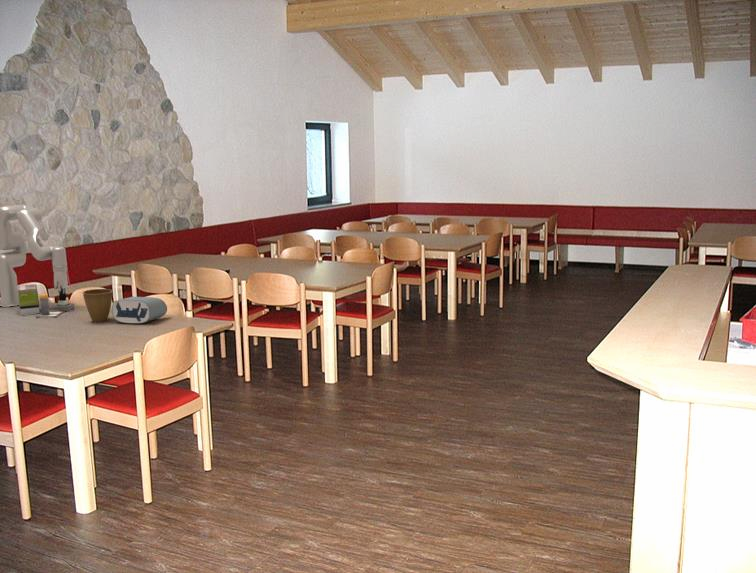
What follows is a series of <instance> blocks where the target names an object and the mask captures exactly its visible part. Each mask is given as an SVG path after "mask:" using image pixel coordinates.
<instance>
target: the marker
mask: <svg viewBox="0 0 756 573" xmlns="http://www.w3.org/2000/svg"><path fill="white" fill-rule="evenodd" d="M48 295H49V294H48V293H38V298H39V305H40V314H42V315H49V311H50V306H49V305H50V304H49V296H48Z"/></svg>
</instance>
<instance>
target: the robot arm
mask: <svg viewBox="0 0 756 573" xmlns="http://www.w3.org/2000/svg"><path fill="white" fill-rule="evenodd" d="M15 220H17V221H18V222H19V225H20V226H21V227H22V228H23V230H24V233H26V234H27V236H28V238H27V248H28V250H29V252H30V254H31V255H32V257H33V258H34V259H35V260H37V261H41V262H43V261H48V260H51V262H52V271H53V287H54V290H57V293H58V296H59V300H60V301H65V300H67V294H66V293H67V288H68V285H69V281H68V280H69V279H68V273H67V271H68V261H67V252H66V247H64V246H55V245H48V246H40V245H39V243H38V241H37V238H38V237H39V236H40V235H41V234H42V233H43V228H42V226H41V225H40V222H41V221H42V220H43V214H42V211H41V210H40V209H38V208H36V207H33V206H31V205H30V206H29V205H25V204H15V205H14V204H13V205H4V206H0V250H1V251H3V252H1V253H0V300H1V301H0V306H2V307H1V308H9V307H10V306H13V307H18V306H17V305H19V296H18V286H19V285H18V277H17V273H16V272H15V270H14V268H17V267H22V266H24V265H25V264H26V262H27V261H26V260H27V250H26V240H25V237H24V235H23V234H22V233H20V232H13V230H14V229H13V226H12V223H11V221H15ZM4 251H5V252H4ZM19 306H20V305H19ZM10 308H11V307H10Z"/></svg>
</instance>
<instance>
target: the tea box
mask: <svg viewBox="0 0 756 573" xmlns="http://www.w3.org/2000/svg"><path fill="white" fill-rule="evenodd" d="M18 296H19V312H20V313H19V314H20V316H26V315H25V314H31V315H38V314H37V313H39V314H41V310H40V298H39V292H38V286H37V284H36V283H35V284H26V285H18Z"/></svg>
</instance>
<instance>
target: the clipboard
mask: <svg viewBox="0 0 756 573" xmlns="http://www.w3.org/2000/svg"><path fill="white" fill-rule="evenodd" d="M63 312H64V313H65V311H59V310H53V309H49V315H42V313H39V314H37V316H35V319H39V318H38V317H54V318H57V316H58V317H59V315H60V314H61V315H62V313H63ZM64 313H63V314H64ZM61 315H60V316H61Z"/></svg>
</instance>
